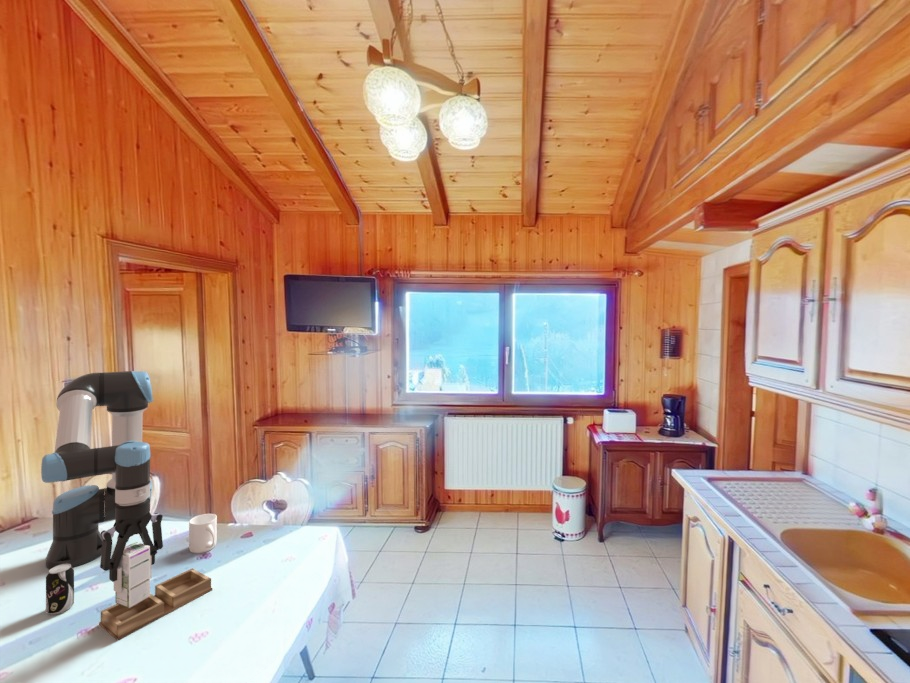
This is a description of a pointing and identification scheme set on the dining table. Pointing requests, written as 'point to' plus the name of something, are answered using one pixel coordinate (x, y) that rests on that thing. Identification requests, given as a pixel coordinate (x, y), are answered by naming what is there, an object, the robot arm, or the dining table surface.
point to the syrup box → (134, 575)
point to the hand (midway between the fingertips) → (132, 583)
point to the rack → (155, 604)
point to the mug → (202, 533)
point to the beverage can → (59, 589)
